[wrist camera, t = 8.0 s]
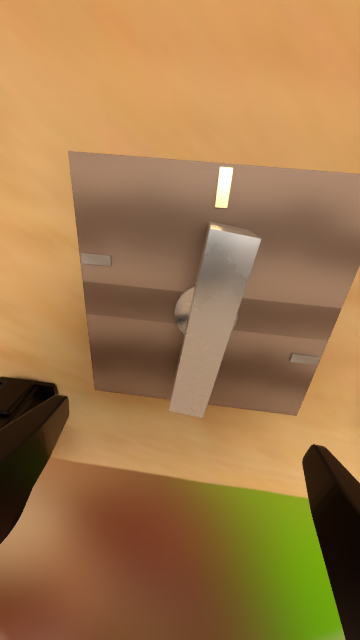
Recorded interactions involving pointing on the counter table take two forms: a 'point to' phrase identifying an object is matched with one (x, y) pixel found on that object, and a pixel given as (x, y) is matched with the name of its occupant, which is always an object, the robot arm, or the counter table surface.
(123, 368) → the lock plate
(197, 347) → the t key
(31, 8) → the counter table surface
